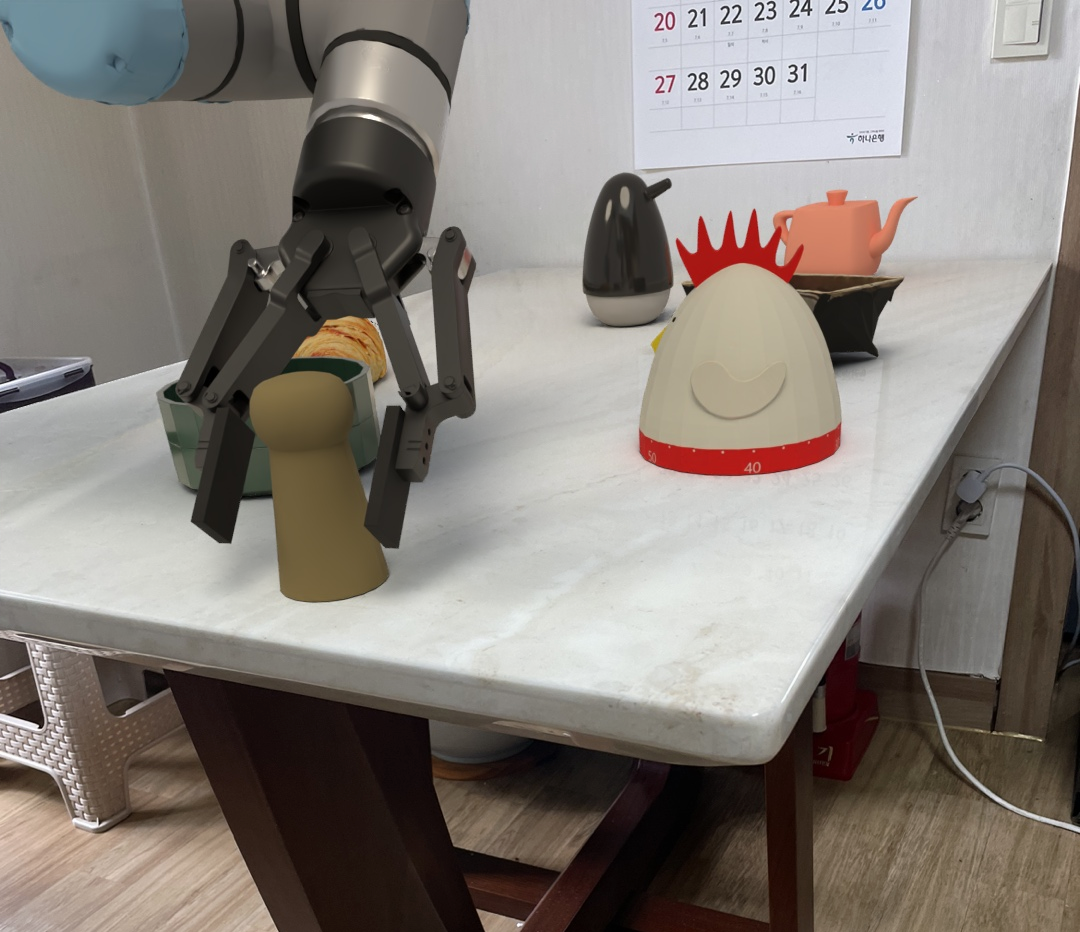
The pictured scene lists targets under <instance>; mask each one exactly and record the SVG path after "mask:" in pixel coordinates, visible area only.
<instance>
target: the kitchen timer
mask: <svg viewBox="0 0 1080 932" xmlns="http://www.w3.org/2000/svg"><path fill="white" fill-rule="evenodd" d="M734 224H735V223H734V216H733V212H732V210H729V212H728V214H727V218H726V223H725V226H724V231H723V236H722V242H721V245H720V247H719V248H718V249H715V248H714V247H713V244H712V242H711V239H710V236H709V232H708V228H707V226H706V222H705V220H704V218H703V216H702V215H699V217H698V222H697V236H696V239H697V240H696V242H697V243H696V251H695V252H693V253H692V252H690V251H689V250H688V249H687V247H685V245H684V244H683V242H682V241H681V239H679V238H678V237H676V239H675V246H676V249H677V251H678V255H679V257H680V259H681V262H682V264H683V266H684V267H685V270H686V271H687V274H688V276H689V278H690V281H691V280H692V282H693V284H694V286H695V288H694V289H693V290H692V291H691V292H690V293H689V294H688V295H687V296H686V297H684V299H683V300H682V301H681V303H680V304H679V306H678V307H677V308H676V310H675V311H674V313H673V315H672V316H671V318H670V320H668V321H669V322H668V323H667V324H666V326H665V327H664V328H663V329H662V330H661V331H660V333H658V335H657V336H656V337H655V338H654V339H653V340H652V341H651V344H650V346H651V348H652V351H653V352H654V357H653V359H652V363H651V366H650V369H649V373H648V377H647V382H646V384H645V389H644V392H643V397H642V401H641V406H640V411H639V412H640V413H639V419H638V420H639V422H638V442H639V443H638V444H639V445H638V447H639V453H640V455H641V456H642V457H643V458H644V460H645V461H647V462H650V463H651V464H653V465H656V466H657V467H661V468H665V469H667V470H668V469H669V470H673V471H676V472H680V473H681V472H682V473H691V474H699V475H700V474H701V475H708V476H709V475H710V476H711V475H712V476H714V475H715V476H745V475H761V474H770V473H776V472H782V471H783V472H784V471H789V470H793V469H800V468H802V467H805V466H810V465H812V464H816V463H819V462H821V461H823V460H825V459H827V458H829V457H831V456H833V455H835V453H836V452H837V451H838V449H839V448H840V446H841V437H842V422H843V421H842V406H841V397H840V391H839V388H838V382H837V378H836V375H835V371H834V367H833V362H832V359H831V353H829V350H828V347H827V344H826V341H825V339H824V336H823V333H822V331H821V329H820V327H819V324H818V322H817V320H816V319H815V317H814V315H813V313H812V311H811V310H810V308H809V307H808V305H807V304H806V302H805V301H804V299H803V298H802V297H801V296H800V294H799V293H798V292H797V291H796V290H795V289H794V288H793V287H792V286H791V285H790V284H789V283H788V282H789V281H790V279H791V278H792V276H793V274H794V272H795V270H796V268H797V266H798V264H799V261H800V259H801V256H802V253H803V250H804V246H803V244H801V245H800V247H799V248H798V249H797V251H796V253H795V254H794V256H793V257H792V259H791V260H790V261H789V262H788V263H787V264H786V265H784V264H783V265H779V264H777V262H776V259H777V252H778V249H779V245H780V241H781V239H780V238H781V233H782V228H781V226H778V227H777V228H776V230H775V229H774V232H773V233H772V235H771V236H770V239H769V241H768V242H767V244H766V245H765V246H764V247H762V244H761V241H760V240H761V239H760V231H759V223H758V213H757V209H756V208H752V211H751V214H750V217H749V222H748V226H747V231H746V235H745V240H744V243H743V245H742V247H739V246H738V243H737V239H736V232H735V226H734Z"/></svg>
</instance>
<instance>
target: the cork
mask: <svg viewBox="0 0 1080 932" xmlns="http://www.w3.org/2000/svg"><path fill="white" fill-rule="evenodd" d="M250 418H251V422H252V426H253V428H254V430H255V432H256V434H257V436H258V437H259V438H260V439H261V440H262V441H263V442H264V443H265V444H266V445H267V446H268V447H269V457H270V470H271V482H272V494H271V495H272V505H273V507H272V508H273V520H274V529H275V541H276V542H275V543H276V553H277V556H276V557H277V566H278V567H277V568H278V577H279V578H278V579H279V591H280V592H281V593H282V594H283V595H284V596H285V597H287V598H289V599H292V600H295V601H301V602H308V603H313V602H314V603H315V602H332V601H339V600H345V599H348V598H353V597H357V596H359V595H363V594H365V593H368V592H370V591H373V590H375V589H377V587H379V586H380V585H382V584H383V583H385V582H386V581H387V579H388V578H389V576H390V569H389V566H388V564H387V561H386V557H385V554H384V551H383V546H382V544H381V543H380V542H379V541H378V540H377V539H376V538H375V537H374V536H373V535H372V534H371V533H370V532H369V531H368V530H367V529H366V528H365V527H364V521H365V515H366V510H367V505H368V498H367V496H366V492H365V489H364V485H363V482H362V479H361V476H360V472H359V470H358V469H357V466H356V463H355V459H354V456H353V453H352V450H351V446H350V443H349V440H348V434H349V432H350V430H351V428H352V426H353V419H354V409H353V402H352V397H351V394H350V392H349V390H348V387H347V386H346V385H345V383H344V382H343V381H342V380H341V378H339V377H337V376H335V375H333V374H330V373H326V372H316V371H302V372H292V373H287V374H282V375H279V376H276V377H273V378H270V379H268V380H265V381H263V382H261V383H260V384H259V385H258V386H256V387H255V388H254V390H253V393H252V396H251V399H250Z"/></svg>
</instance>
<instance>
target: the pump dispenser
mask: <svg viewBox="0 0 1080 932" xmlns="http://www.w3.org/2000/svg"><path fill="white" fill-rule="evenodd" d="M672 186H673V183H672V180H671V179H670V178H669V177H666V178H664V179H661V180H659V181H657V182H655V183H652V184H650V185H648V184H647V183H646V181H644V179H643V178H642V177H641V176H639V175H637V174H635V173H632V172H627V171H625V172H619V173H617V174H614V175H613V176H611V177H610V178H608V179H607V181H605V182H604V184H603V186H602V187H601V189H600V191H599V193H598V195H597V198H596V200H595V204H594V205H593V210H592V213H591V217H590V221H589V224H588V228H587V233H586V238H585V245H584V252H583V260H582V276H581V277H582V278H581V280H582V284H581V286H582V293H583V295H585V296H586V301H587V305H588V307H589V308H590V311H591V312H592V314H593V315H594V317H595V318H596V319H597V320H598V321H600V322H601V323H603V324H605V325H607V326H610V327H634V326H641V325H645V324H648V323H651V322H652V321H655V319H657V318H658V317H659V316H660V315H661V314H662V313H663V312H664V310H665V308H666V307H667V305H668V302H669V300H670V296H671V289H672V288H673V287H674V267H673V261H672V259H673V258H672V254H671V246H670V241H669V238H668V233H667V229H666V226H665V223H664V220H663V217H662V213H661V211H660V209H659V206H658V203H657V201H656V199H657V198H658V197H660V196H661V195H662V194H664V193H666V192H667V191H668V190H670V189H671V188H672Z"/></svg>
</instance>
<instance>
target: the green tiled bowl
mask: <svg viewBox="0 0 1080 932" xmlns="http://www.w3.org/2000/svg"><path fill="white" fill-rule="evenodd" d="M302 371H316V372H326V373H330V374H333V375H335V376H337V377H339V378H341V380H342V381H343V382H344V383H345V385H346V386H347V387H348V390H349V392H350V394H351V397H352V402H353V409H354V419H353V426H352V428H351V430H350V432H349V434H348V440H349V443H350V446H351V450H352V453H353V456H354V459H355V463H356V466H357V469H358V471H359V470H361V469H363V467H365V466H367V465H369V464H370V463H372V461H374V460H376V458H377V453H378V447H379V442H380V437H381V427H380V421H379V414H378V408H377V401H376V395H375V390H374V389H375V388H374V382H372V375H371V369H370V366H369V365H367V364H366V363H365V362H364V361H360V360H356V359H351V358H346V357H329V356H317V357H293V358H291V360H290V361H289V363H288V364H287V365H286V367H285V368H284V370H283V371H282V372H281V374H280V375H282V374H287V373H292V372H302ZM178 381H179V379H176V380H174V381H172V382H169V383H166V384H165V385H164V386H162V387H161V388H160V389H159V390H157V391H156V393H155V394H156V400H157V404H158V407H159V411H160V415H161V420H162V424H163V427H164V430H165V434H166V438H167V442H168V445H169V450H170V453H171V457H172V461H173V466H174V468H175V473H176V476H177V480H178V482H179V483H180V484H182V485H184V486H186V487H188V488H190V489H192V490H198V487H199V483H200V479H201V474H202V473H201V472H200V471H199V470H198V469H197V468H195V462H194V457H195V452H196V450H197V444H198V440H199V435H200V431H201V427H202V423H203V419H202V418H201V417H200V416H199V415H198V414H197V413H196V412H195V411H194V410H193V409H191V408H190V407H189V406H188V405H187V404H186V403H185V402H184V401H183V400H182V399H181V398H180V397H179V396H178V395H177V394H176V390H175V388H176V385H177V383H178ZM230 401H232V397H231V398H230ZM245 424H246V425H247V426H248V427H249V428H250V429H251V430H252V431H253V432H254V433H255V439H254V443H253V448H252V452H251V457H250V461H249V466H248V470H247V475H246V479H245V484H244V488H243V493H242V497H257V496H271V495H273V494H272V482H271V470H270V457H269V447H268V446H267V445H266V444H265V443H264V442H263V441H262V440H261V439H260V438H259V437H258V436H257V434H256V432H255V430H254V428H253V426H252V422H251V418H250V417H249V418H248V420H247V421H246V423H245Z"/></svg>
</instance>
